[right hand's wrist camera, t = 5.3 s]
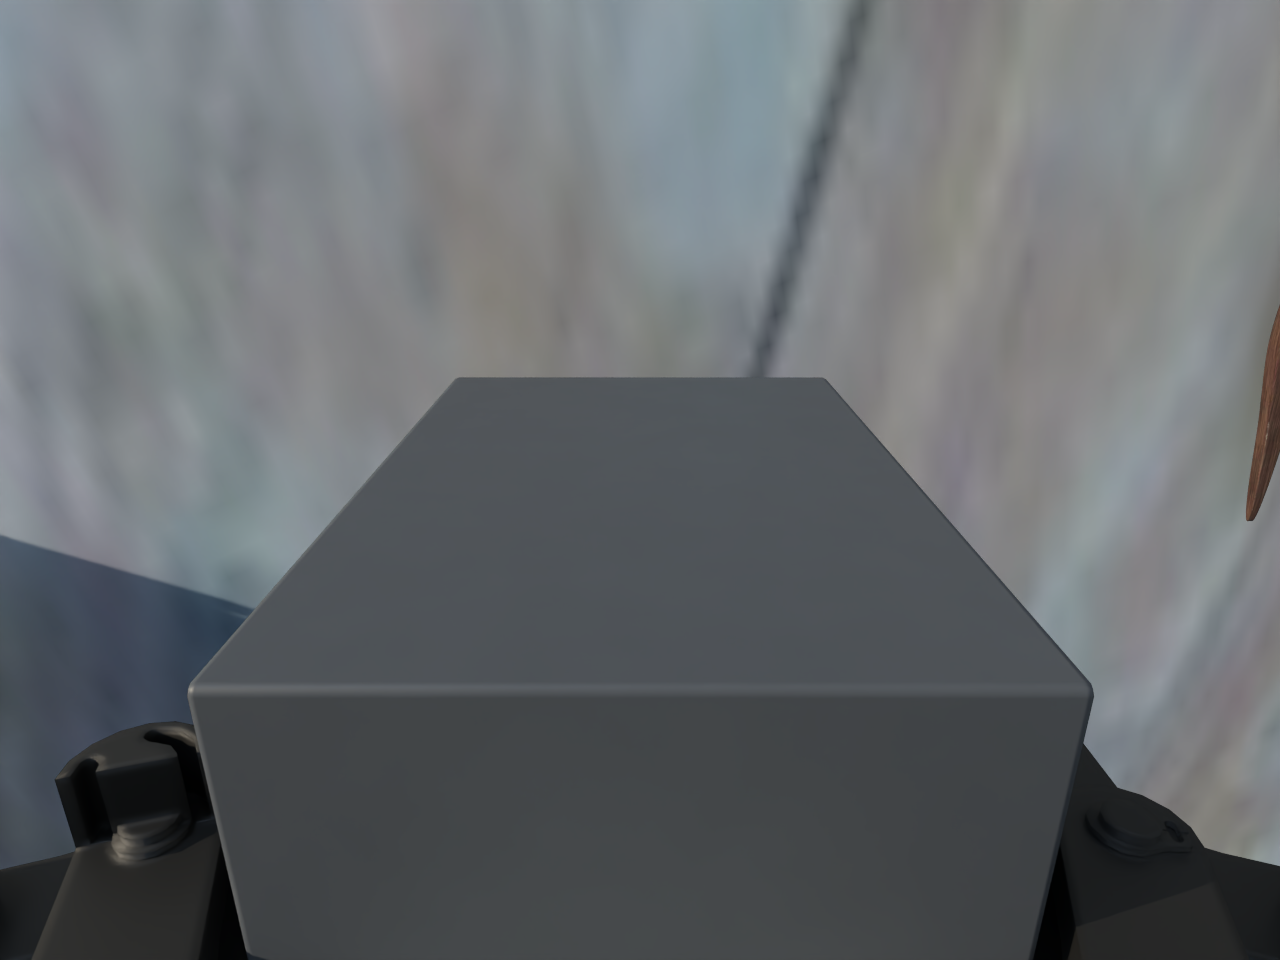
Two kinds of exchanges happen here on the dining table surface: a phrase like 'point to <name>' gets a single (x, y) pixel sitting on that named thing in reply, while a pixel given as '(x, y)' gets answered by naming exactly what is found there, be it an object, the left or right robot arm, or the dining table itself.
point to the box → (640, 697)
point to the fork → (1266, 426)
